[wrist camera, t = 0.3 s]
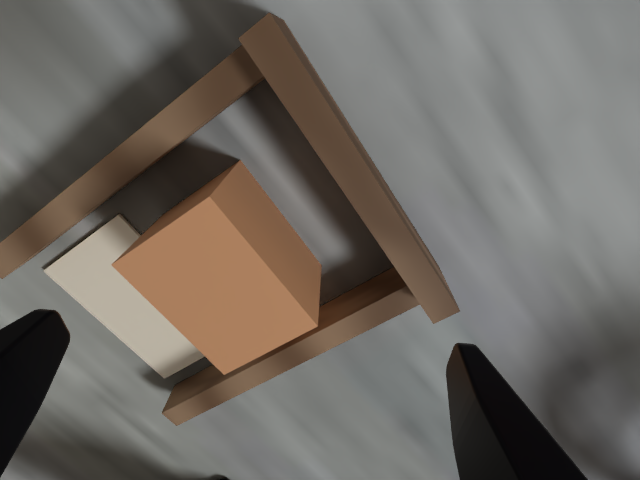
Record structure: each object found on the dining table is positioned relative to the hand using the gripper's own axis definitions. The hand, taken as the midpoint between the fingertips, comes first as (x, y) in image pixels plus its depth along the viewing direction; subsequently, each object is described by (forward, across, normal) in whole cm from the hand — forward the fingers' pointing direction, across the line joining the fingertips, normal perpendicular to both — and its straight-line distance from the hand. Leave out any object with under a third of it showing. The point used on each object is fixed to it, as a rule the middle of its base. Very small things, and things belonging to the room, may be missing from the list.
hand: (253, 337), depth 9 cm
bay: (+13, +6, +8) cm, 16 cm away
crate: (+13, +4, +7) cm, 15 cm away
